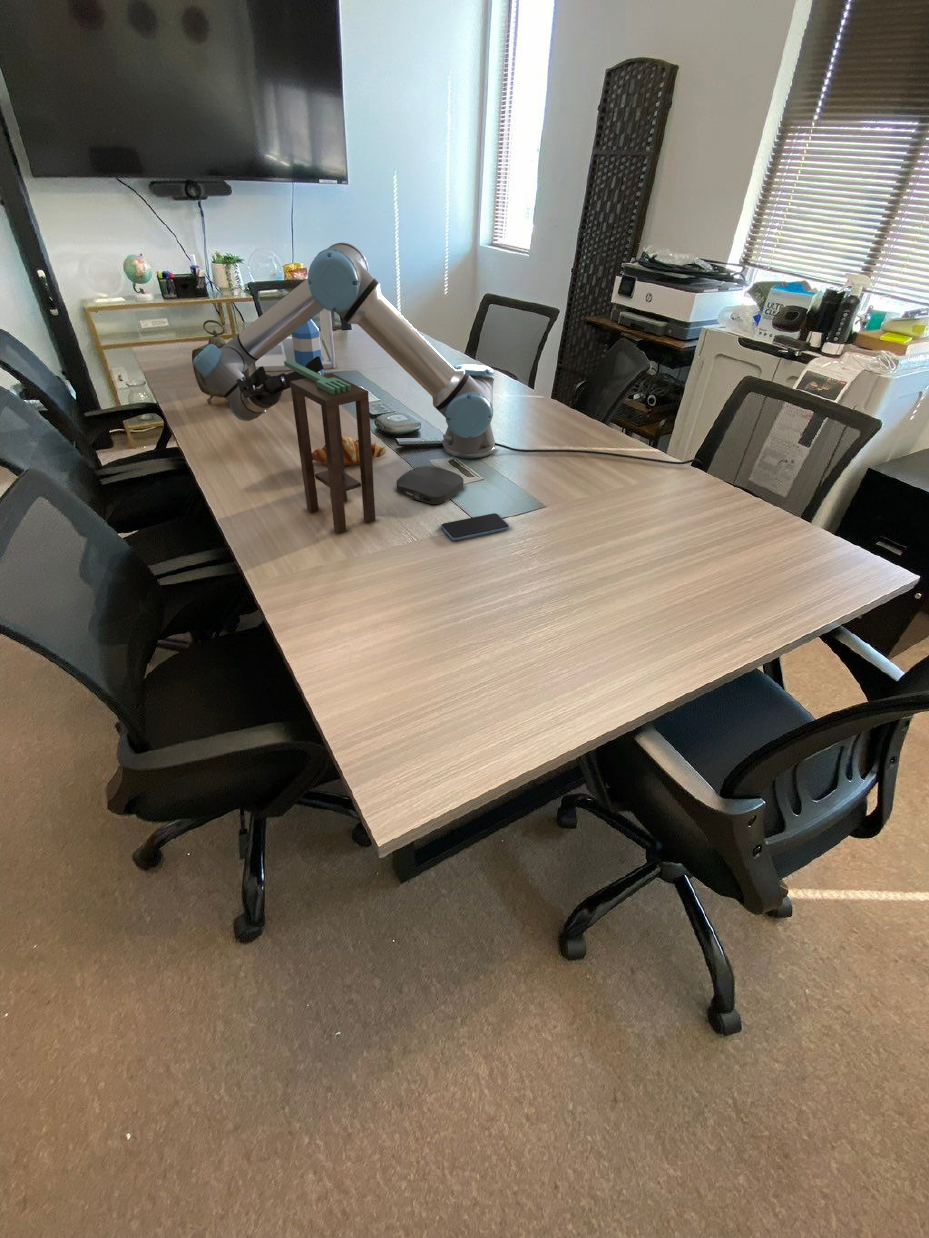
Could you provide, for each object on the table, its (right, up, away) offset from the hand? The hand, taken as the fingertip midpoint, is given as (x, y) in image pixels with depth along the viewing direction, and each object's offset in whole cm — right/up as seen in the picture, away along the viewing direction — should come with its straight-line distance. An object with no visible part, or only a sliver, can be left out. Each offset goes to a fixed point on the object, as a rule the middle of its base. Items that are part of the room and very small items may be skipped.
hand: (292, 367), depth 132 cm
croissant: (+6, -12, +34) cm, 37 cm away
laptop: (-31, +50, +108) cm, 123 cm away
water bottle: (-15, +24, +77) cm, 82 cm away
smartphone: (+40, -34, +9) cm, 53 cm away
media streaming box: (+29, -22, +23) cm, 43 cm away
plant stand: (+8, -31, +11) cm, 33 cm away
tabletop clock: (-39, +15, +64) cm, 76 cm away
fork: (+6, -4, -5) cm, 9 cm away
